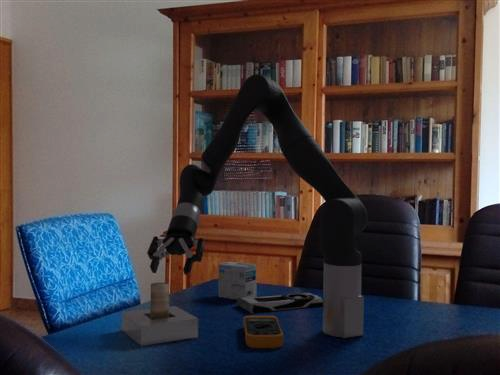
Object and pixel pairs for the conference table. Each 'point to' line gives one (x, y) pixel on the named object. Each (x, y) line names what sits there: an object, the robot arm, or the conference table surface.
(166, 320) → the grey square socket block
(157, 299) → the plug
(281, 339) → the multimeter
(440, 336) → the conference table surface
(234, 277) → the light bulb box
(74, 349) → the conference table surface
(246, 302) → the graphics card
